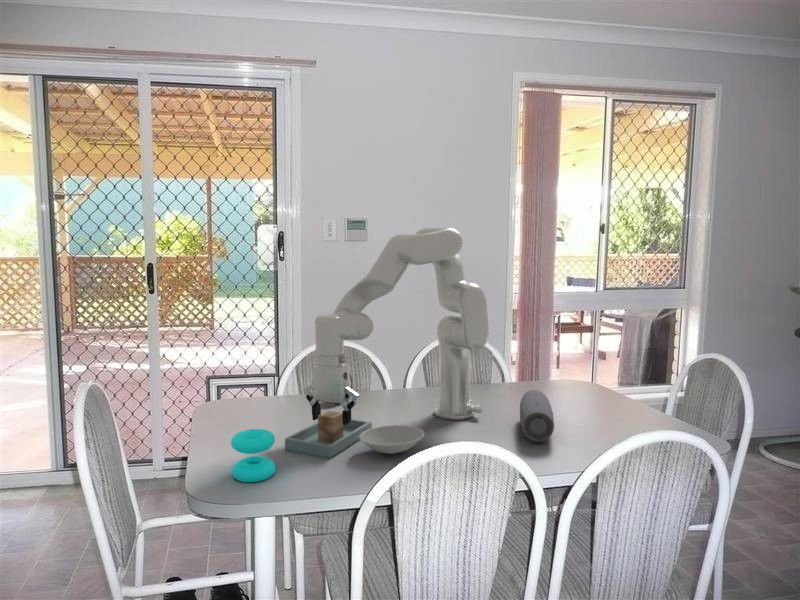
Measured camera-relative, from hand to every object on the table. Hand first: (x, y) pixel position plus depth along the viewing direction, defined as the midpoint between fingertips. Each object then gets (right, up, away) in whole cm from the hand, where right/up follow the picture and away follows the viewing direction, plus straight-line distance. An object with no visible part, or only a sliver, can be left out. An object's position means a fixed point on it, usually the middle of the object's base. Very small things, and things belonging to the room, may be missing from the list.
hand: (331, 421), depth 159 cm
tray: (0, -6, 0) cm, 6 cm away
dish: (+17, -7, -8) cm, 20 cm away
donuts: (-16, -8, -22) cm, 28 cm away
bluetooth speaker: (+58, -5, +9) cm, 59 cm away
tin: (-1, -1, +40) cm, 40 cm away
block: (0, -5, 0) cm, 5 cm away
